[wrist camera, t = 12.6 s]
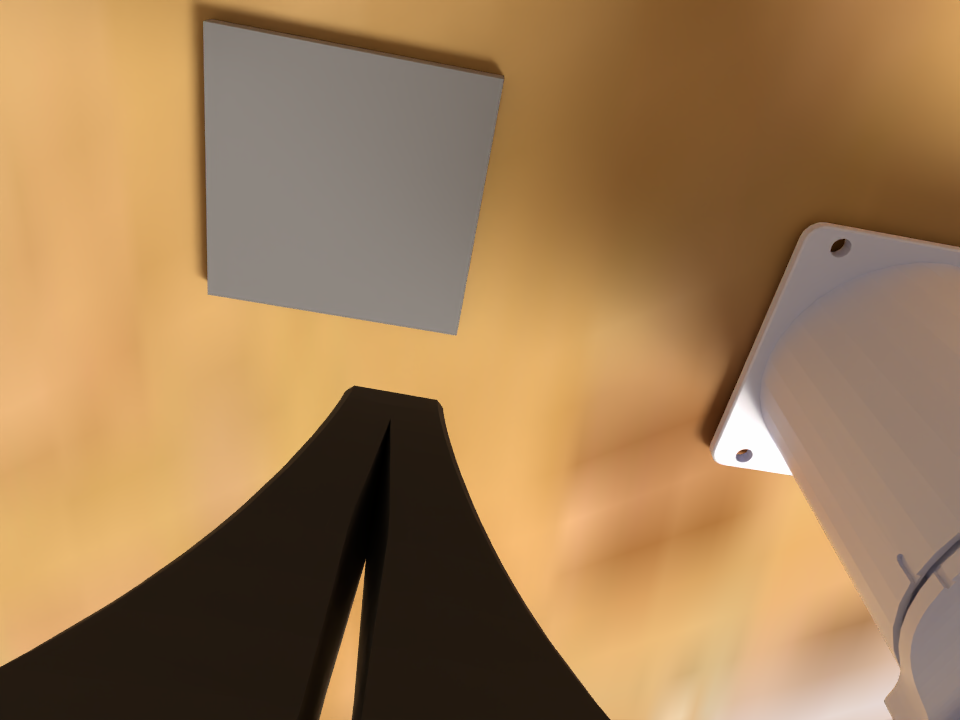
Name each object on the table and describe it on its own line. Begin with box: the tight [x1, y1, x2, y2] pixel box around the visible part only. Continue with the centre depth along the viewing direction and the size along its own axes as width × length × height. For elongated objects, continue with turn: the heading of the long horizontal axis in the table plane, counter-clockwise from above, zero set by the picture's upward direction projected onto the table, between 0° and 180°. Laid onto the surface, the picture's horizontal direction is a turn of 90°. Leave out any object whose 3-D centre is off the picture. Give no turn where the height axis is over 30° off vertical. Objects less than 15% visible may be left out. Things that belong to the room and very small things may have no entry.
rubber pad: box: [203, 19, 504, 335], centre depth 19 cm, size 7×7×1 cm
